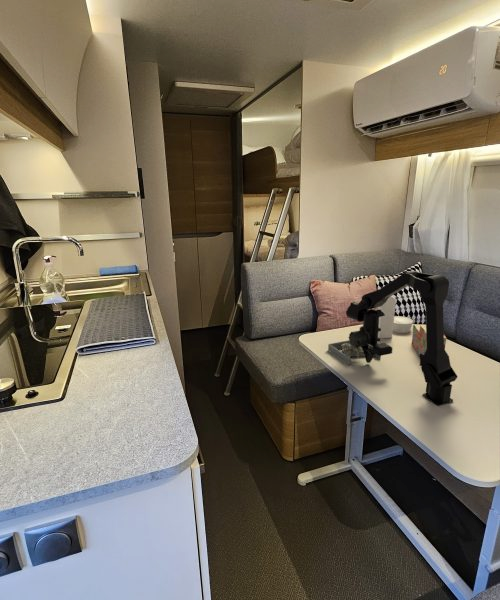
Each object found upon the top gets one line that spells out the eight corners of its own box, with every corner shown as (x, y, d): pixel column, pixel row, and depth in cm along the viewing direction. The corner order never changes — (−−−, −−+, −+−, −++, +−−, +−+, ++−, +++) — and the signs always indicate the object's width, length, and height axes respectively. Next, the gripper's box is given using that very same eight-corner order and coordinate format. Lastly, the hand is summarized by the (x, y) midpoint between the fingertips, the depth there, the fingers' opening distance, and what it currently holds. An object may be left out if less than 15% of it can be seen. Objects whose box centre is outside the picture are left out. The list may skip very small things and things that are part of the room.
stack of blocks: (411, 343, 153) (414, 317, 150) (426, 344, 152) (429, 318, 148) (424, 365, 133) (428, 336, 130) (442, 367, 132) (446, 337, 128)
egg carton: (344, 357, 142) (345, 348, 141) (340, 350, 149) (340, 341, 148) (370, 357, 141) (371, 348, 140) (365, 349, 149) (365, 340, 148)
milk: (387, 333, 165) (392, 288, 159) (392, 338, 159) (397, 292, 153) (374, 333, 165) (378, 288, 159) (378, 338, 159) (383, 292, 153)
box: (380, 358, 139) (381, 352, 138) (349, 365, 135) (349, 358, 134) (357, 344, 153) (357, 338, 152) (328, 350, 148) (328, 344, 147)
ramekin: (382, 330, 169) (383, 319, 168) (393, 324, 176) (394, 314, 175) (405, 336, 161) (406, 325, 160) (415, 329, 168) (417, 319, 167)
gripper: (338, 320, 137) (337, 356, 141) (369, 336, 120) (366, 377, 124) (362, 316, 140) (359, 352, 145) (395, 332, 123) (391, 371, 128)
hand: (368, 362), depth 135 cm, fingers closed
